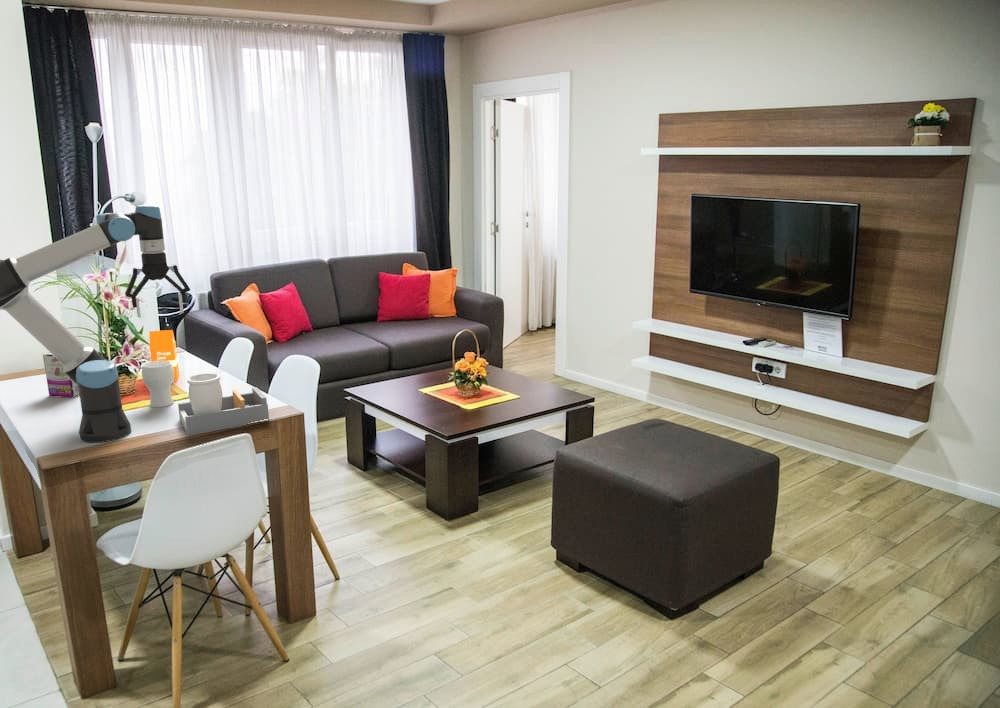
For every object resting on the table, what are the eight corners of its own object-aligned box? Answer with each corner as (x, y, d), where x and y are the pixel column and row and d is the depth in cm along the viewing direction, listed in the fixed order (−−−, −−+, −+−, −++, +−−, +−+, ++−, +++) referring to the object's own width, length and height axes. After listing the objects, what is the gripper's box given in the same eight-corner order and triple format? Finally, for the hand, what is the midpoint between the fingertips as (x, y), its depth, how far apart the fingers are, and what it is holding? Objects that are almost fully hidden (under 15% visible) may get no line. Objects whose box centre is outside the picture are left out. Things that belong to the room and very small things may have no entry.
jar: (214, 426, 266) (209, 382, 262) (185, 424, 268) (180, 381, 264) (230, 415, 276) (226, 373, 272) (203, 414, 278) (198, 372, 274)
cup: (139, 406, 291) (134, 366, 287) (163, 398, 300) (158, 359, 297) (160, 410, 287) (155, 369, 283) (184, 401, 296) (179, 362, 292)
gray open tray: (187, 435, 261) (185, 411, 259) (179, 420, 276) (177, 397, 274) (269, 421, 273) (267, 398, 271) (257, 407, 288) (255, 386, 286)
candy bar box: (83, 394, 307) (77, 352, 303) (73, 398, 302) (67, 355, 298) (58, 392, 309) (51, 350, 305) (48, 396, 305) (41, 354, 301)
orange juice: (156, 377, 328) (150, 329, 323) (179, 375, 330) (174, 327, 325) (153, 383, 320) (147, 333, 315) (177, 381, 323) (171, 331, 318)
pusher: (242, 420, 271) (240, 400, 269) (234, 409, 282) (232, 390, 280) (255, 418, 273) (253, 398, 271) (246, 407, 284) (244, 388, 282)
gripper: (112, 256, 262) (121, 320, 267) (194, 250, 273) (201, 312, 279) (111, 253, 268) (119, 316, 274) (190, 248, 280) (197, 308, 285)
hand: (160, 314), depth 276 cm, fingers open, 13 cm apart
